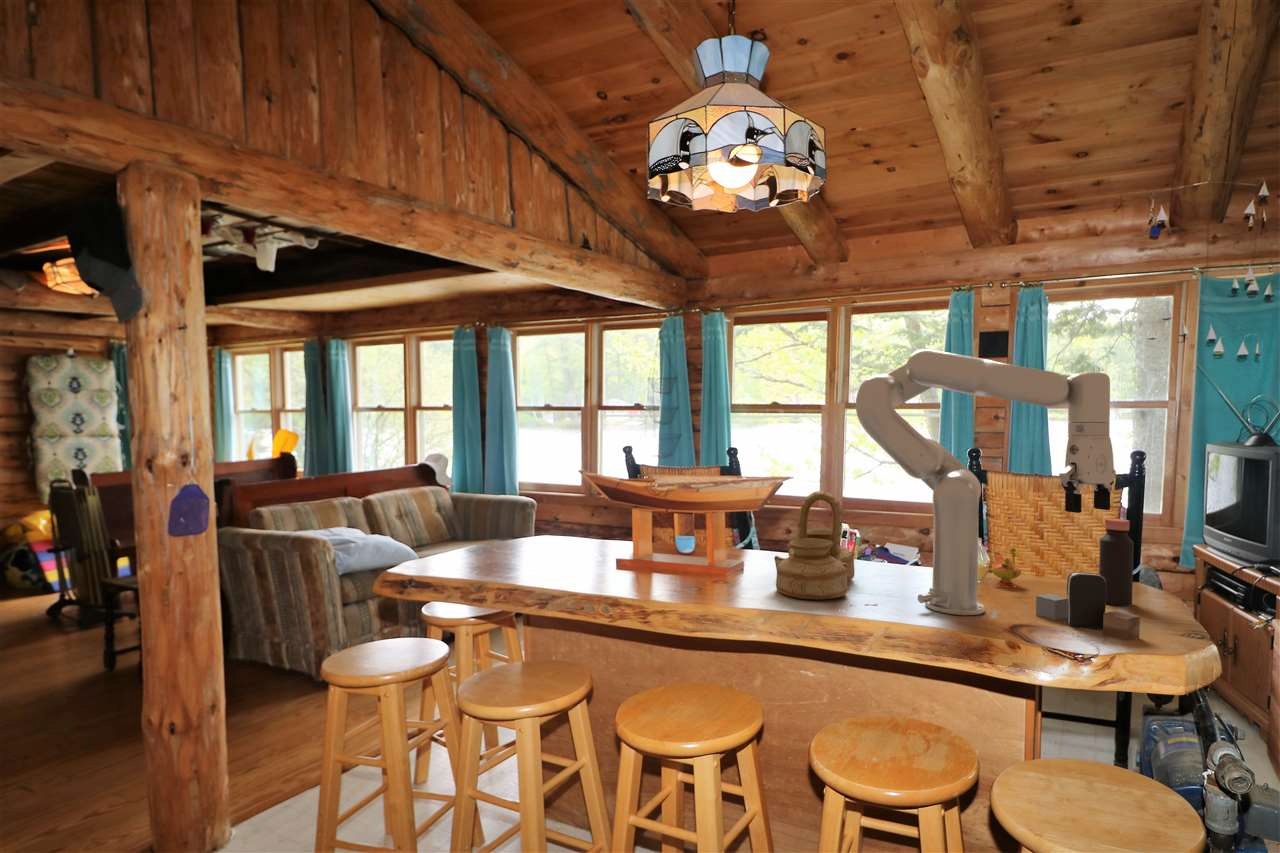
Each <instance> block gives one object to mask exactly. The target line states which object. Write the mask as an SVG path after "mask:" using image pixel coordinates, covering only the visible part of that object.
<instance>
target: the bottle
mask: <svg viewBox="0 0 1280 853" xmlns="http://www.w3.org/2000/svg"><path fill="white" fill-rule="evenodd" d="M1104 528H1105V532H1106V533H1105V534H1104V535H1103V536H1102V537H1101V538H1100V540H1099V561H1098V562H1099V563H1098V564H1099V566H1098V567H1099V568H1098V572H1099V573H1098V575H1100V576H1102V577H1104V579H1105V580H1106V605H1109V606H1115V607H1117V606H1118V607H1129V606H1131V605H1132V604H1133V588H1134V587H1133V585H1134V584H1133V581H1134V577H1133V576H1134V548H1135V547H1134V544H1135V542H1134V541H1133V539H1131V538H1130V536H1128V533H1130V520H1128V519H1124V518H1123V519H1122V518H1113V517H1112V518H1111V517H1110V518H1105V519H1104Z"/></svg>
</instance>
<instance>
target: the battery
mask: <svg viewBox="0 0 1280 853" xmlns="http://www.w3.org/2000/svg"><path fill="white" fill-rule="evenodd" d="M1066 595H1067V598H1068V618H1067V623H1068V625H1069V626H1070V627H1078V628H1086V629H1102V630H1103V615H1104V613H1106V608H1107V607H1106V606H1107V604H1106V580H1105V579H1104V577H1102V576H1100V575H1099V573H1094V572H1085V571H1083V572H1080V571H1079V572H1078V571H1073V572H1070V573H1069V574H1068V576H1067V581H1066Z"/></svg>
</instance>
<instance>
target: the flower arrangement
mask: <svg viewBox="0 0 1280 853" xmlns="http://www.w3.org/2000/svg"><path fill="white" fill-rule="evenodd" d="M1016 550H1017V549H1016V548H1015V547H1013V548H1011V549H1010V550H1009V551H1010V553H1011V556H1012V561H1011V559H1009V557H1006V558H1004V557H1003V555H1002V554H1001V552H996V551H995V552H992V553H993V558H994V559H993V560H994V564H993V566H992V567H991V572H992V573H993V575H994V576H995V577H997V578H1000V580H999V581H997V582H995V583H996V584H998V585H1000V586H999V587H1001V586H1008V587H1007V588H1015V587H1014V586H1016V587H1017V584H1016V583H1013V581H1012V580H1014V579H1016V578H1019V577H1020V575H1021V569H1019V568H1018V567H1016V562H1015V557H1016V555H1017V553H1016ZM998 585H997V586H998Z"/></svg>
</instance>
